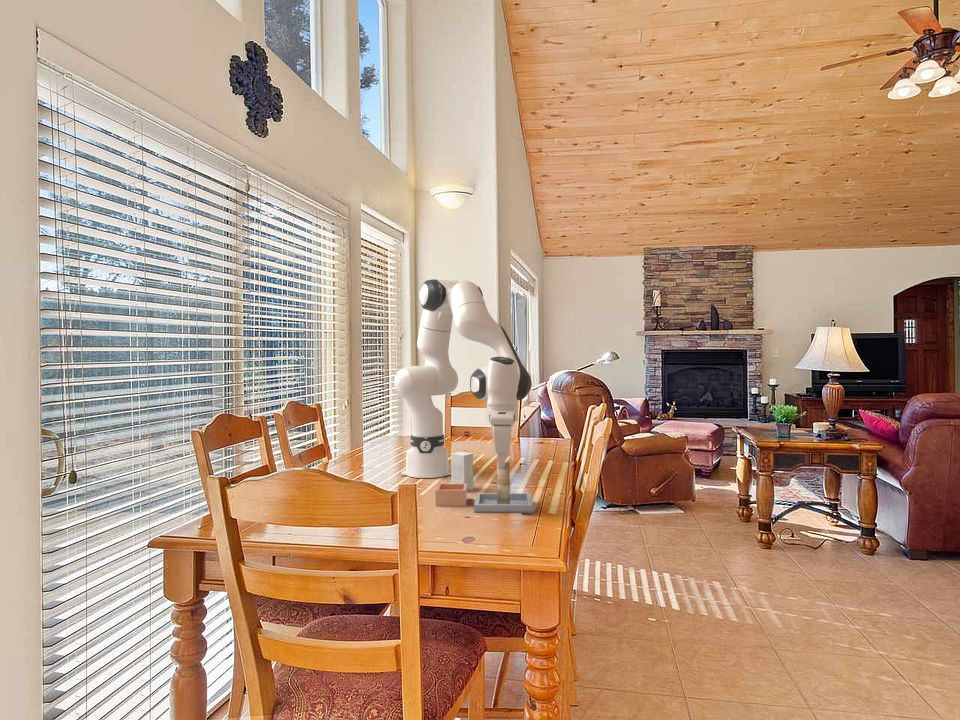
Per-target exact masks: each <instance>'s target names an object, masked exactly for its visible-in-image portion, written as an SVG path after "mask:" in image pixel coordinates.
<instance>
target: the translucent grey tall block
mask: <svg viewBox="0 0 960 720" xmlns="http://www.w3.org/2000/svg"><path fill="white" fill-rule="evenodd" d="M510 464H511V463H510V462H509V461H505V466H504V467H499V466H498V461H497V462H496V493H497V504H510V493H511V491H510V490H511V486H510V485H511V484H510V483H511V482H510V481H511V478H510V475H511V474H510V473H511V472H510V466H511V465H510Z"/></svg>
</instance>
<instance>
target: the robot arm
mask: <svg viewBox="0 0 960 720" xmlns="http://www.w3.org/2000/svg"><path fill="white" fill-rule="evenodd" d="M418 303H419V304H420V306H421V308H422V309H423V310H422V313H421V317H420V322H419V328H418V334H417V335H418V336H417V341H416V342H417V343H416V346H417V349H418V351H419V352H420V353H421V354H423V355H424V359H425V362H424V365H411V366H407V367H406V366H405V367H404V368H401V369H399V370H397V372H396V374H395V376H394V382H393V383H394V388H395V390H396V391H397V393H398V395H400V396H401V397H402V398H403V399H404V400H405V402H406V403H407V406H408V409H409V412H410V417H411V435H410V439H409V440H410V448H409V449H408V450H407V451H406V462H405V463H406V464H405V465H406V466H405V469H403V470H402V471H401V475H403V476H408V477H411V478H416V479H418V478H419V479H433V478H436V479H437V478H441V477H445V476H451V460H449V451H448V449H446V447H445V439H446V438H445V434H444V425H443V424H444V419H443V418H444V416H443V413H442V410H441V409H439V408H438V407H437V406H435V404H434V403H433V400H432V399H433V398H432V397H433V396H434V397H435V396H443V395H444V396H445V395H446V394H449V393H451V392H454V391H455V390H456V388H457V387H458V384H459V375H458V372H457V370H455V369H454V367H453V366H452V363H451V362H450V357H449V355H450V354H449V348H450V347H449V346H450V339H451V332H452V327H453V326H452V325H453V322H454V326H455V329H456V330H457V331H458V333H459V335H461V336H462V337H464V338H465V339H467V340H468V341H469V340H470V341H472V342H476V343H480V344H482V345H485V346H487V347H490V348H491V349H493V351H495V353H496V354H497V356H493V357H491V358H489V359H488V362H487V364H486V365H484V366H482V367H480V368H479V367H478V368H476V370H473V372H472V374H470V375H471V376H470V379H469V388H470V389H469V390H470V392H471V394H472V395H473V396H474V397H475V398H476V399H477V400H481V401H486V421H487V422H489V423H490V426H491V428H492V436H493V445H494V446H493V447H494V452H495V453H496V454H497V458H498V461H497V462H498V466H499V467H504V466H505V462H506V454H507V453H509V450H510V443H511V437H512V435H511V434H512V428H513V427H514V424H515V423H516V422H517V421H518V419H519V418H518V416H519V403H518V401H522V400H523V399H525V398H526V397H527V396H528V394H530V392H531V390H532V386H533V385H532V378H531V375H530V373H529V372H528V370H527V369H526V368H525V366H524V365H523V363H522V361H521V359H520V357H519V355H518V353H517V351H516V349H515V348H514V347H515V346H513V344H512V341H511V339H510V337H509V335H508V333H507V332H506V330H505V328H504V327H503V326H502V325H500V323H498V322H496V320H495V319H494V318H493V317H492V315H491V314H490V313H489V311H488V308H487V305H486V302H485V300H484V295H483V291H482V289H481V286H478V285H477V284H476V283H475V282H473V281H469V280H464V281H463V280H462V281H458V280H445V279H444V280H441V279H440V280H439V279H435V278H434V279H428V280H425V281H424V282H423V283H422V284H421V286H420V288H419V293H418Z"/></svg>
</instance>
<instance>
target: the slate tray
mask: <svg viewBox="0 0 960 720" xmlns="http://www.w3.org/2000/svg"><path fill="white" fill-rule="evenodd" d="M473 504H474V505H473V507H474V508H473V512H474V513H475V514H476V513H478V514H479V513H481V514H482V513H483V514H484V513H485V514H486V513H489V514H491V513H495V514H499V513H501V514H503V513H504V514H505V513H507V514H508V513H511V514H518V513H519V514H520V513H521V515H533V514H534V505H533V497H532V494H531V492H510V504H497V492H476V494H475V499H474V503H473Z"/></svg>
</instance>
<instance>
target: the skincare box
mask: <svg viewBox="0 0 960 720" xmlns="http://www.w3.org/2000/svg"><path fill="white" fill-rule="evenodd" d="M450 454H451V455H450V458H451V459H450V466H451V475H450V476H451V483H450V484H467V493H468V492H471V491H472V492H473V491H474V453H470V452H462V451H459V452H458V451H457V452H452V453H450Z"/></svg>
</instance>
